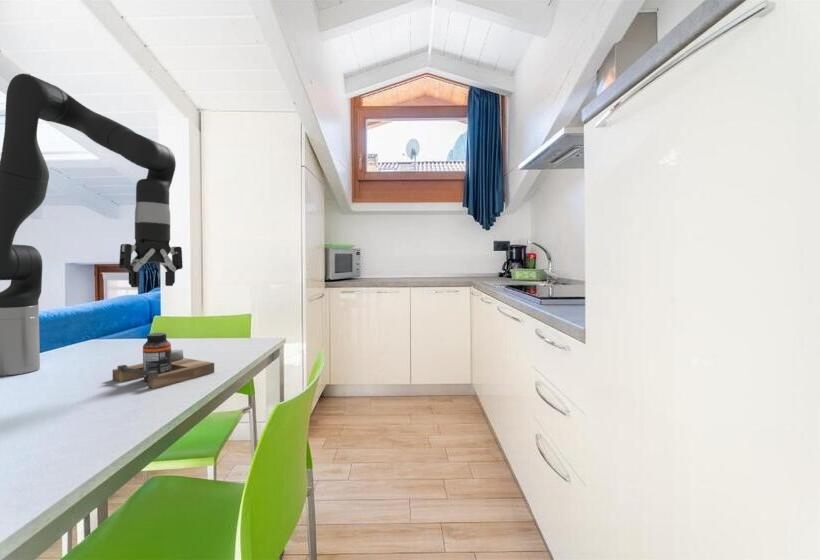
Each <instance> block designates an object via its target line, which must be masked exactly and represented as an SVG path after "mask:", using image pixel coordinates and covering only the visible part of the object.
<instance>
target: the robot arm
mask: <svg viewBox="0 0 820 560" xmlns="http://www.w3.org/2000/svg"><path fill="white" fill-rule="evenodd" d="M5 97H6V98H5V113H4V114H5V117H4V118H5V119H4V135H3V140H2V141H3V142H2V147H1V148H2V149H1V155H0V281H10V284H9V285H8V287H7V288H4V290H2V291H0V376H13V375H21V374H27V373H30V372H35V371H37V370H39V369H41V362H40V361H41V353H40V351H41V350H40V349H41V348H40V315H39V314H40V312H39V311H40V310H39V299H40V297H41V293H42V286H43V285H42V282H43V258H42V255H41V253H40V251H39V250H38V249H37V247H34V246H33V245H28V244H27V245H26V244H13V242H14V239H15V236H16V233H17V231H18V229H19V228H20V226H21V225H22V224H23V223H24V222H25V220H26V219H28V218H29V217H30V216H31V215H32V214H33V213H34V212H35V211H36V210H37V209H38V208H39V207H40V206H41V205H42V203H43V202H44V200H45V198H46V196H47V190H48V185H49V180H50V171H49V168H48V165H47V162H46V159H45V158H44V156H43V153H42V150H41V149H40V146H39V142H38V124H39V120H41V121H45V122H52V123H55V124H59V125H61V126H66V127H68V128H71V129H74V130H76V131H78V132H80V133H83V134H84V135H85V136H86V137H87V138H89V139H90V140H91V141H93V142H94V143H96V144H98V145H100V146H101V147H102V148H103V147H104V148H105V149H107V150H109V151H111V152H113V153H115V154H117V155H119V156H121V157H123V158H124V159H125V160H128V162H130V163H132V164H134V165H136V166H138V167H140V168H143V169H147V175H146V178H141V179H139V180H137V181H136V186H135V187H136V188H135V209H134V240H135V243H134V245H133V244H130V243H122V244H120V248H119V261H118V262H119V264H118V267H119V269H120V270H121V269H123V270H125V271H127V272H128V284H129V286H130V287H131V288H140V272H139V270H140V269H141V267H142V266H144V265H145V264H146V263H159V264H160V265H161V266H162V267H163V268H164V269H165V275H164V276H165V278H164V279H165V280H164V282H165V283H164V285H165V286H166V287H173V286H174V284H175V282H176V271H178V270H183V267H184V266H183V251H182V250H183V249H182V247H181V246H170V242H171V210H170V209H171V208H170V188H171V184H172V182H173V179H174V175H175V172H176V167H177V165H176V164H177V161H176V158H175V154H174V152H173V151H172V149H170V148H169V147H168V146H166V145H164V144H161V143H159V142H156V140H153V139H150V138H147V137H145V136H144V135H141V134H139V133H137V132H136V131H134V130H133V129H131V128H129V127H128V126H125V125H124V124H122V123H120V122H117V121H116V120H113V119H111V118H109V117H107V116H106V115H105V116H104V115H102V114H100V113H98V112H95V111H93V110H92V109H90V108H89V107H86V106H85V105H83V104H82V103H81V102H80V101H78V100H76V99H75V98H73V97H72V96H71V95H69V93H67V92H66V91H64V90H63V89H61V88H60V87H58V86H57V85H55V84H52V83H50V82H48V81H45V80H42V79H40V78H39V77H36V76H34V75H31V74H28V73H18V74H17V75H15V76H13V77H12V79H11V80H10V81H9V84H8V86H7V90H6V95H5ZM134 252H135V253H136V255H135V257H133V258H132V254H133V253H134ZM169 254H170V255H171V257H170V256H169Z"/></svg>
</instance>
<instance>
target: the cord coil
mask: <svg viewBox="0 0 820 560" xmlns="http://www.w3.org/2000/svg"><path fill="white" fill-rule="evenodd" d="M182 358H184V350H183V349H171V361H175V360H180V359H182Z"/></svg>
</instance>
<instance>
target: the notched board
mask: <svg viewBox="0 0 820 560" xmlns="http://www.w3.org/2000/svg"><path fill="white" fill-rule="evenodd" d="M171 368H172V371H170V372H166V373H162V374H158V371H151V372H149V371H144V370H143V362H142V363H139V364H133V365H129V366H128V365H127V364H121V365H117V368H114V369H112V372H111V373H112V381H117V382H120V383H121V382H122V383H124V382H127V381H131V380H135V379H140V378H144V376H143V375H146V376H148V381H147V388H148V389H153V390H154V389H155V390H156V389H157V388H162V387H165V386H169V385H172V384H176V383H181V382H184V381H187V380H191V379H194V378H198V377H201V376H205V375H210V374H212V373H213V374H214V373H215V362H211V361H206V360H199V359H193V358H187V357H183V358H182V359H180V360H175V361H171Z"/></svg>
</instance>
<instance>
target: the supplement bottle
mask: <svg viewBox="0 0 820 560" xmlns="http://www.w3.org/2000/svg"><path fill="white" fill-rule="evenodd" d="M146 337H147V339H146V342H145V343H144V344H143V346H142V363H143V370H144V371H149V372H151V371H158V374H162V373H166V372H170V371H172V368H171V350H172V343H171V342H170V341H168V340H167V333H166V332H152V333H148V334H147V335H146ZM143 376H144V377H143V380H144V381H145V382H148V376H146V375H143Z"/></svg>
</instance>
